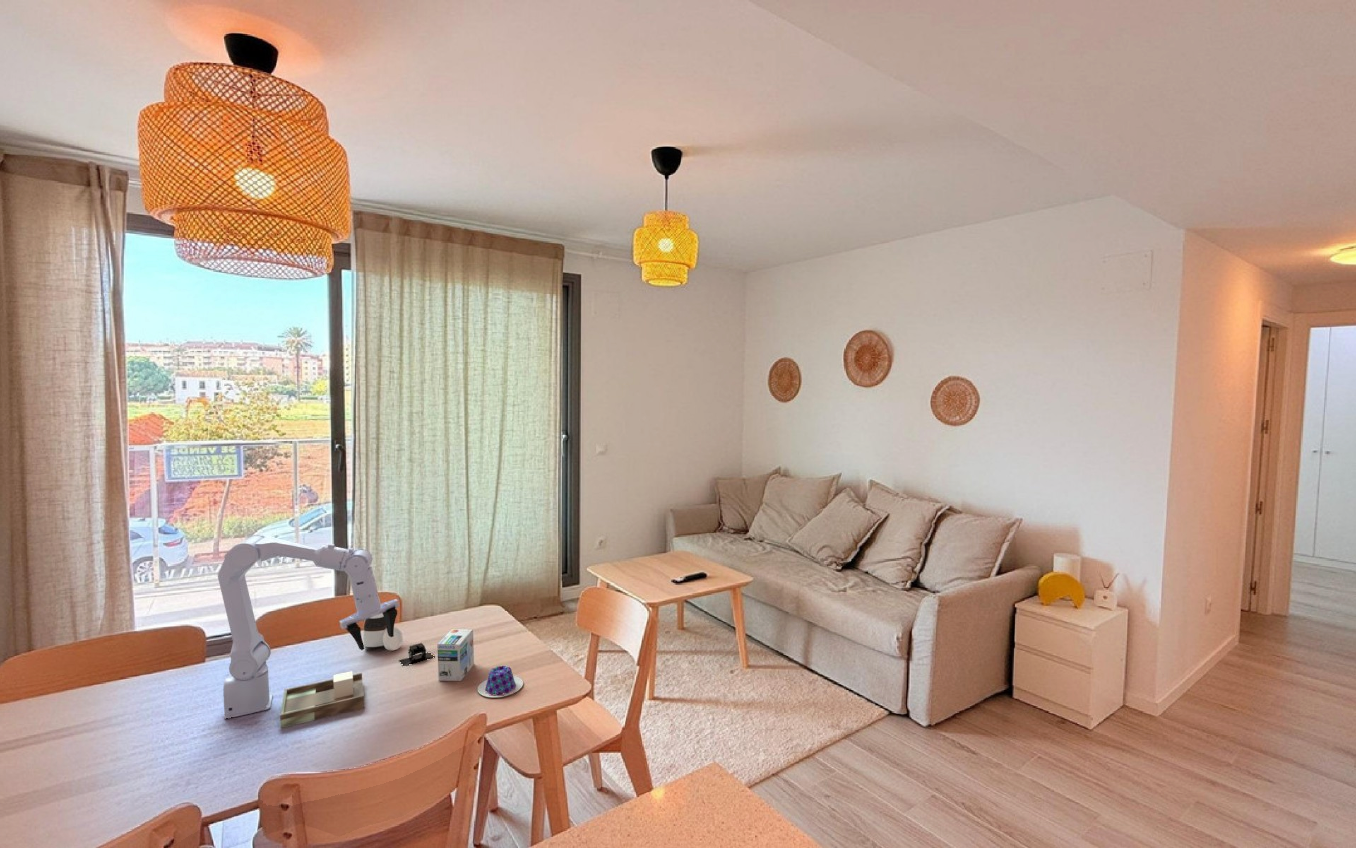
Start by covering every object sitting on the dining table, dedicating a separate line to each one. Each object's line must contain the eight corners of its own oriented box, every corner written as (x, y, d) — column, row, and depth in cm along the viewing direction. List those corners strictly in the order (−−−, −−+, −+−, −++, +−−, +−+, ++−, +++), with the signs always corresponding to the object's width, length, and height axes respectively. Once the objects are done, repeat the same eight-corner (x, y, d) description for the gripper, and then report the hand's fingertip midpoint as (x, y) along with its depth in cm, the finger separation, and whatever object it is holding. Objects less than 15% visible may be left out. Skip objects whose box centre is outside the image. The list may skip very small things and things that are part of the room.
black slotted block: (398, 671, 174) (398, 656, 174) (392, 662, 180) (391, 647, 179) (442, 658, 182) (441, 644, 182) (434, 650, 188) (434, 636, 187)
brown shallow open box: (280, 728, 145) (280, 715, 144) (285, 701, 157) (284, 689, 157) (364, 708, 154) (363, 696, 153) (362, 684, 166) (361, 672, 165)
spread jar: (371, 640, 194) (369, 605, 193) (408, 637, 196) (407, 602, 195) (358, 656, 182) (357, 619, 181) (398, 653, 184) (396, 617, 183)
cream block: (334, 698, 154) (333, 682, 154) (334, 691, 158) (333, 675, 158) (353, 694, 156) (352, 678, 156) (353, 686, 160) (352, 671, 160)
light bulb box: (461, 681, 167) (460, 644, 166) (437, 681, 167) (436, 644, 166) (474, 663, 178) (474, 628, 177) (452, 663, 178) (451, 628, 177)
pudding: (495, 675, 172) (494, 657, 171) (531, 681, 168) (531, 663, 167) (468, 695, 160) (467, 677, 160) (506, 703, 156) (506, 684, 156)
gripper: (341, 608, 152) (353, 658, 154) (399, 587, 162) (409, 633, 164) (332, 603, 157) (344, 652, 159) (389, 582, 167) (399, 628, 169)
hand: (376, 642), depth 162 cm, fingers open, 7 cm apart
